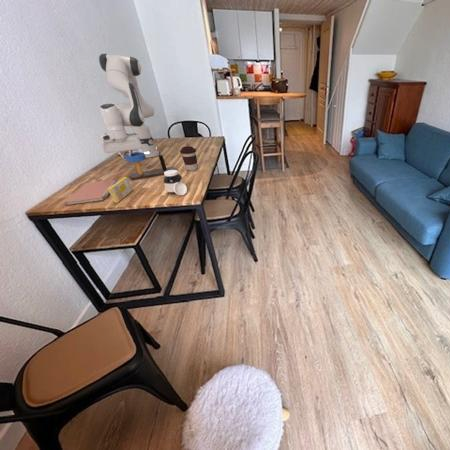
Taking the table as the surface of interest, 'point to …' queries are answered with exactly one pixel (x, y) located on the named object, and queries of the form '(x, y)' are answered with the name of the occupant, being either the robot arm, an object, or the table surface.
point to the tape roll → (135, 157)
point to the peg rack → (150, 173)
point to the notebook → (91, 192)
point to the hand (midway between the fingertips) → (126, 158)
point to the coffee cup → (189, 157)
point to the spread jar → (174, 183)
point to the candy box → (120, 189)
